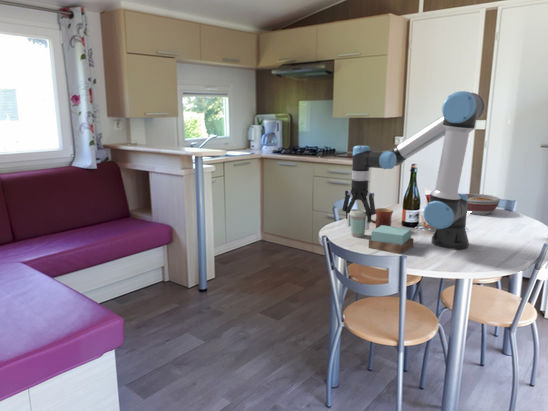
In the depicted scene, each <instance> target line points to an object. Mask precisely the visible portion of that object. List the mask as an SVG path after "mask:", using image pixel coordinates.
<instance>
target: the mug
mask: <svg viewBox="0 0 548 411" xmlns="http://www.w3.org/2000/svg"><path fill="white" fill-rule="evenodd" d="M375 211H376V214H375V220H373V219H372V218H371V222H370V223H373V224H375V229H376V228H378V227H380V226H381V225H385V226H392V216H393V213H394V209H391V208H388V207H387V208H385V207H381V208H379V207H378V208H375Z"/></svg>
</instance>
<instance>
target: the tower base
mask: <svg viewBox="0 0 548 411" xmlns="http://www.w3.org/2000/svg"><path fill="white" fill-rule="evenodd" d="M412 248H414V238H412V237H411V238H410V239H409V240H408V241H407V242H405V243H404V244H403V245H398V244H392V243H385V242H378V241H372V240H371V238H370V239H369V240H368V249H371V250H377V251H381V252H387V253H393V254H398V255H402V254H403V253H404V252H406V251H408V250H409V249H412Z"/></svg>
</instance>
